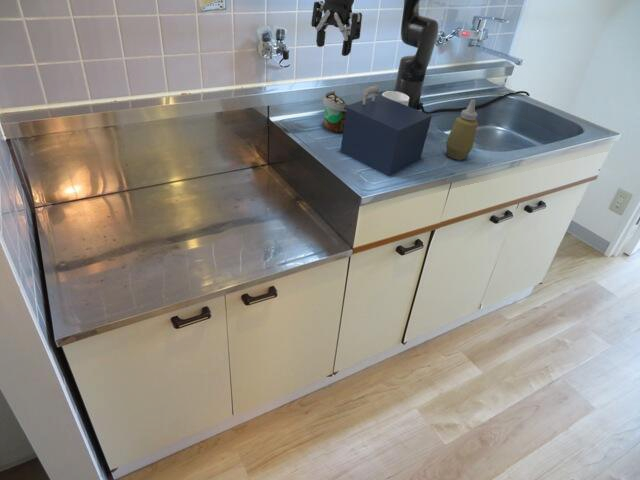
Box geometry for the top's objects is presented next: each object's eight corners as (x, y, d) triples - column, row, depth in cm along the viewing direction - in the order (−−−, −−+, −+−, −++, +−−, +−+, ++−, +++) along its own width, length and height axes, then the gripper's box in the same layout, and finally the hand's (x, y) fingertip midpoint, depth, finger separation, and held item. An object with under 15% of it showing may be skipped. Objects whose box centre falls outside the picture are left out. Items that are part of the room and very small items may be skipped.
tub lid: (344, 109, 133) (346, 90, 130) (378, 97, 144) (382, 79, 141) (398, 133, 124) (403, 113, 121) (431, 118, 135) (436, 100, 132)
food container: (314, 120, 157) (317, 91, 151) (330, 119, 159) (334, 90, 153) (329, 136, 148) (333, 106, 142) (347, 135, 151) (351, 105, 145)
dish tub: (340, 151, 141) (346, 110, 133) (373, 137, 152) (381, 98, 144) (388, 176, 132) (398, 133, 124) (420, 158, 143) (431, 118, 135)
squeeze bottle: (459, 149, 152) (476, 94, 141) (473, 161, 146) (493, 105, 135) (438, 150, 149) (454, 95, 138) (452, 163, 143) (470, 106, 132)
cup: (390, 123, 162) (397, 89, 155) (407, 134, 156) (415, 99, 149) (369, 127, 158) (376, 92, 151) (386, 138, 152) (394, 102, 145)
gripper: (373, -14, 111) (362, 56, 121) (328, -26, 118) (321, 41, 128) (354, -12, 106) (344, 60, 116) (308, -25, 113) (302, 45, 123)
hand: (332, 50), depth 122 cm, fingers open, 8 cm apart
